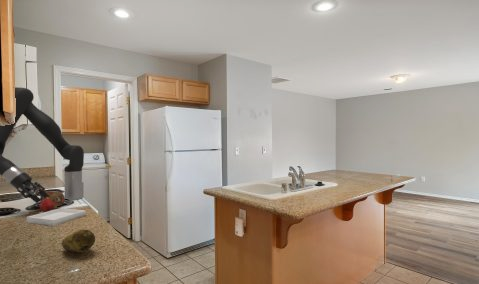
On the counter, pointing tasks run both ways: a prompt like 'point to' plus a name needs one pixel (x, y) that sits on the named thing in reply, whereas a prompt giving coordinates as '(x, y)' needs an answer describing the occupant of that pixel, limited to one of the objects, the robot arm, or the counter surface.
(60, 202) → the tin
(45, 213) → the tray
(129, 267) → the counter surface
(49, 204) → the red rounded lump
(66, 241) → the potato
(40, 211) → the collar
